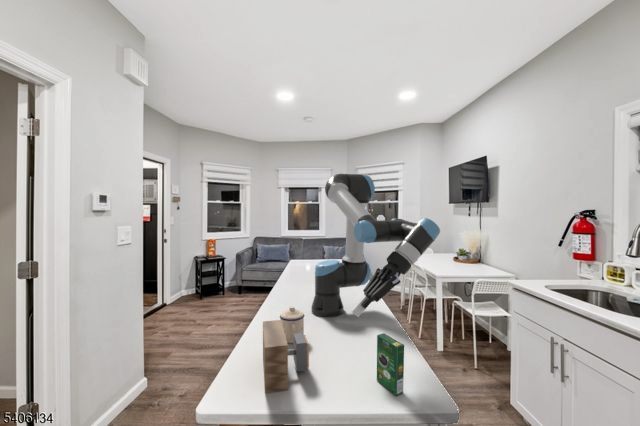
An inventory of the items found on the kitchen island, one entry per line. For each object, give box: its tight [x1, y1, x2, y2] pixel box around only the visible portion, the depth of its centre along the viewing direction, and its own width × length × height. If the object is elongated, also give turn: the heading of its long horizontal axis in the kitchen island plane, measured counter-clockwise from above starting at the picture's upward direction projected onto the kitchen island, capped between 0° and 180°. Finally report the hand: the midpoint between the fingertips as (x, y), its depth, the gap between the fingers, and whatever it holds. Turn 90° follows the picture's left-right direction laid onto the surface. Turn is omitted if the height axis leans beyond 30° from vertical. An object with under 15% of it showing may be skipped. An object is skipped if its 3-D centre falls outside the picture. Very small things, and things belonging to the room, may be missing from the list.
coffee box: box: [376, 332, 405, 397], centre depth 77 cm, size 8×3×13 cm, turn 29°
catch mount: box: [262, 319, 289, 394], centre depth 84 cm, size 6×18×12 cm, turn 13°
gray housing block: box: [288, 333, 310, 372], centre depth 86 cm, size 9×7×8 cm
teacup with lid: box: [279, 306, 305, 344], centre depth 106 cm, size 12×9×12 cm
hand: (354, 313), depth 90 cm, fingers closed
